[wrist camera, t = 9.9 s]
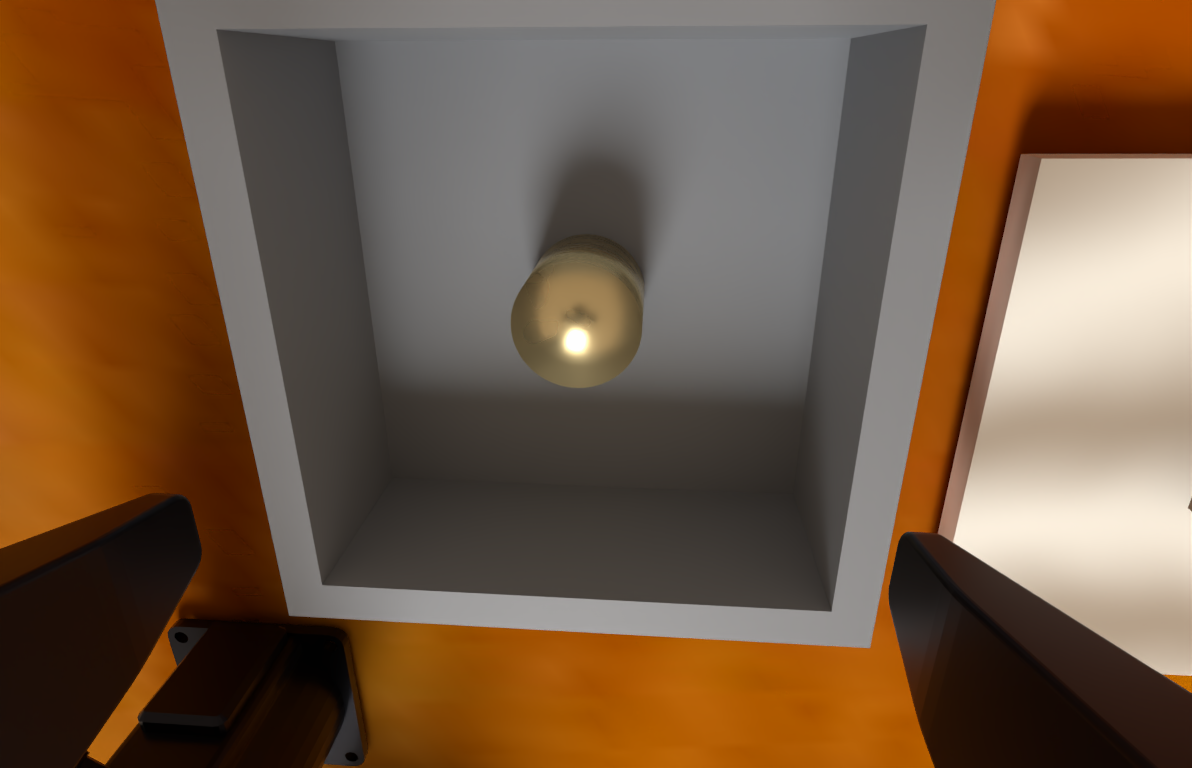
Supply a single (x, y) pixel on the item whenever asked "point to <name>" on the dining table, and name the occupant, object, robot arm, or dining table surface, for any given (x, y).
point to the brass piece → (580, 312)
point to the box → (512, 250)
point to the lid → (1088, 401)
